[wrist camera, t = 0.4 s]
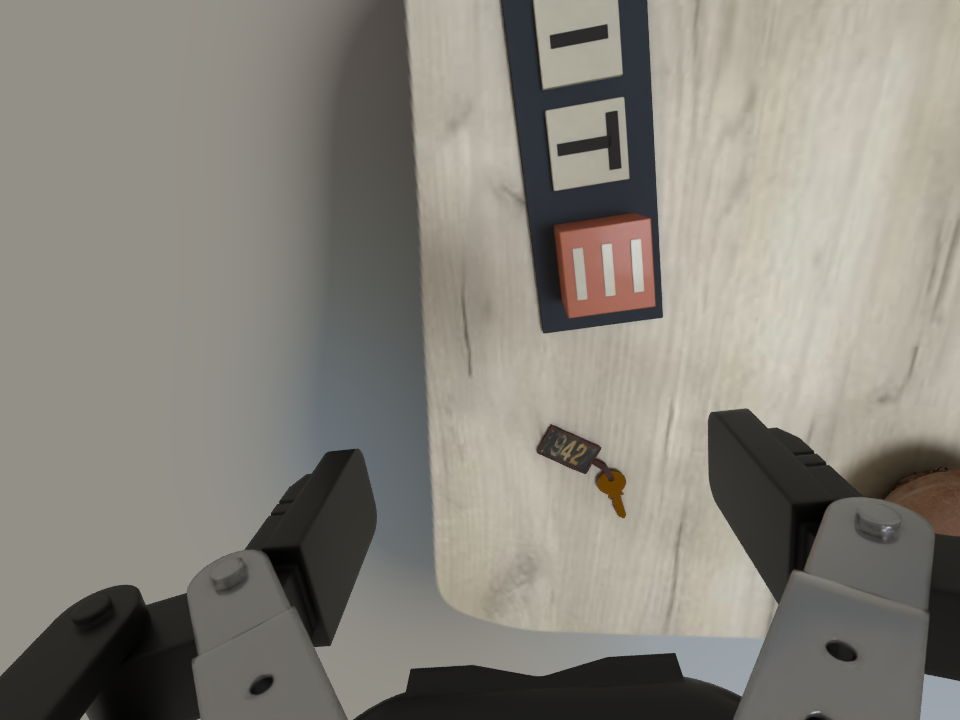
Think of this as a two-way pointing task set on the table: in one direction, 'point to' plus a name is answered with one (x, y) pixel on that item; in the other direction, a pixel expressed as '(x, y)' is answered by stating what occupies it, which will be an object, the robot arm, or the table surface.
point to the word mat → (582, 129)
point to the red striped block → (605, 264)
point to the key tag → (583, 462)
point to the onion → (932, 498)
